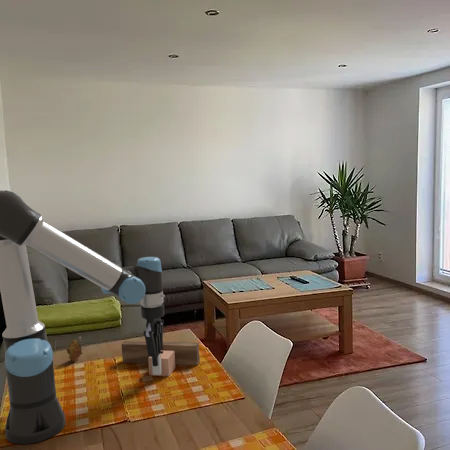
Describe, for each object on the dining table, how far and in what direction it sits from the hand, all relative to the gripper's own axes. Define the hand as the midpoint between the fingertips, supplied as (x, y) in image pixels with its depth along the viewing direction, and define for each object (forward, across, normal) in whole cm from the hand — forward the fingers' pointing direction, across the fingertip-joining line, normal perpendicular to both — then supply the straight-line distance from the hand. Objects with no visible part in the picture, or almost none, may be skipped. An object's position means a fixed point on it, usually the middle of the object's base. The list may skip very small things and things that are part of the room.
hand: (157, 373), depth 156 cm
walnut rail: (+2, +13, +3) cm, 14 cm away
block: (+2, +6, 0) cm, 6 cm away
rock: (+2, +13, +36) cm, 38 cm away
